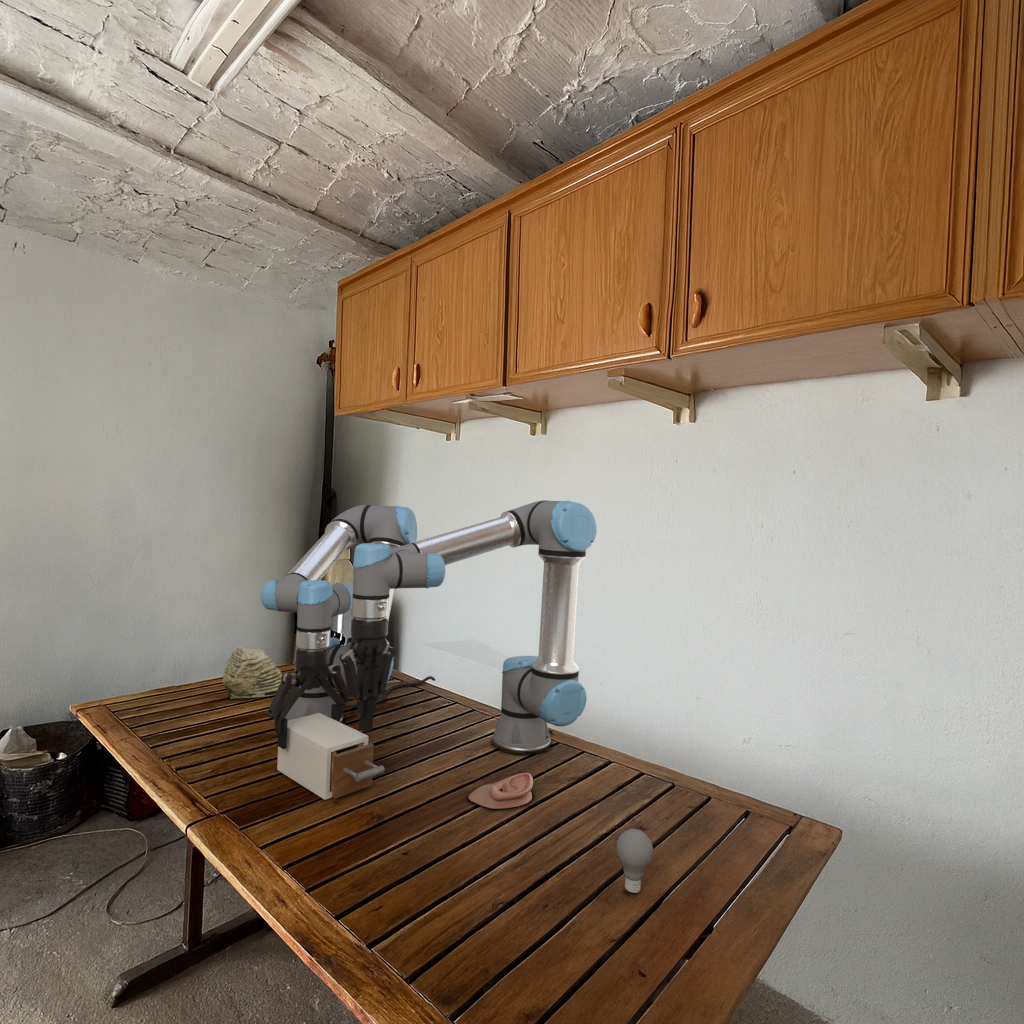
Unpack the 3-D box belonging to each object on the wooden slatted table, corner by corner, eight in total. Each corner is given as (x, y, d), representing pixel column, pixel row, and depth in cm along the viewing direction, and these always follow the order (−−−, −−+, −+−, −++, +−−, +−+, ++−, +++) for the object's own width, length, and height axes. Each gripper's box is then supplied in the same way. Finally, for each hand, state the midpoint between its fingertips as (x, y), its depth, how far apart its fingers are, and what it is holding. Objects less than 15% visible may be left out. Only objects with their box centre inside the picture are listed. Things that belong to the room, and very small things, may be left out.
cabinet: (366, 784, 140) (368, 735, 140) (324, 800, 132) (326, 748, 132) (317, 757, 154) (319, 712, 153) (277, 769, 146) (278, 722, 145)
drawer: (389, 794, 134) (391, 753, 134) (351, 809, 127) (353, 765, 127) (325, 759, 150) (326, 722, 150) (289, 770, 143) (290, 731, 143)
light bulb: (610, 879, 108) (613, 822, 108) (644, 879, 109) (647, 822, 109) (619, 902, 102) (622, 840, 102) (655, 901, 103) (658, 840, 103)
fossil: (218, 695, 195) (220, 647, 195) (278, 685, 208) (279, 640, 207) (228, 703, 189) (230, 653, 188) (289, 692, 201) (290, 645, 201)
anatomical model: (464, 786, 132) (478, 764, 144) (464, 804, 133) (478, 781, 144) (527, 794, 130) (536, 771, 141) (526, 813, 130) (535, 789, 141)
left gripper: (269, 659, 134) (265, 759, 135) (367, 643, 153) (364, 730, 153) (252, 652, 139) (249, 748, 140) (349, 638, 158) (346, 722, 158)
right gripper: (353, 624, 124) (349, 743, 125) (406, 617, 134) (401, 727, 135) (332, 618, 129) (328, 733, 130) (384, 611, 139) (380, 718, 140)
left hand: (309, 739), depth 146 cm, fingers open, 13 cm apart
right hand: (365, 730), depth 132 cm, fingers closed
